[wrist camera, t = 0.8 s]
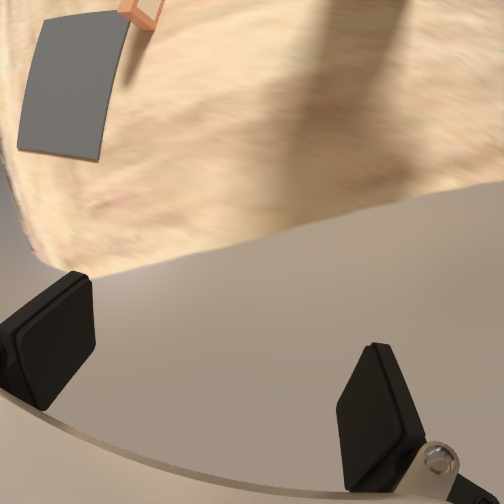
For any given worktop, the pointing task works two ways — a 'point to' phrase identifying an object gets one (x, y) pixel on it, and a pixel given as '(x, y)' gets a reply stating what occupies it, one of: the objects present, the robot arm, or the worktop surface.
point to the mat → (71, 83)
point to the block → (141, 12)
